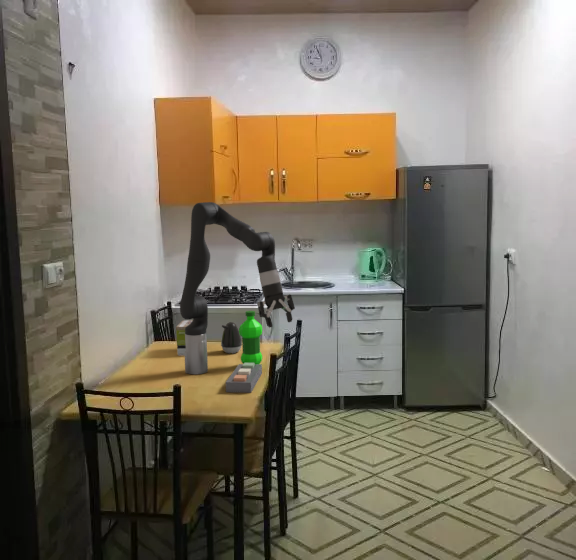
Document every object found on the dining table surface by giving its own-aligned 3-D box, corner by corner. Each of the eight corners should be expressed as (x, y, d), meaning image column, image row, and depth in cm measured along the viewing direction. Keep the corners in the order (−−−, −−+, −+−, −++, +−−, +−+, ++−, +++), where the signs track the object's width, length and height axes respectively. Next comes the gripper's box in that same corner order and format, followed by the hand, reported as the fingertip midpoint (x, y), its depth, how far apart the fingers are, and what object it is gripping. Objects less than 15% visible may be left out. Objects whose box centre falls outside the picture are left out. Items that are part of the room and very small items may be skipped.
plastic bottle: (238, 369, 268) (236, 313, 265) (243, 362, 278) (241, 309, 275) (260, 369, 267) (259, 313, 264) (264, 363, 277) (263, 309, 274)
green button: (242, 372, 255) (242, 365, 255) (244, 369, 260) (244, 362, 259) (252, 372, 255) (252, 365, 254) (254, 369, 259) (254, 362, 259)
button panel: (226, 392, 237) (225, 382, 236) (239, 373, 262) (239, 364, 262) (251, 392, 235) (250, 382, 235) (262, 373, 261) (261, 364, 260)
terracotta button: (233, 385, 238) (233, 378, 237) (236, 382, 242) (235, 374, 242) (244, 386, 237) (244, 378, 237) (246, 382, 242) (246, 374, 241)
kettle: (216, 352, 298) (215, 322, 296) (233, 348, 305) (232, 319, 303) (229, 356, 291) (228, 325, 289) (246, 352, 298) (245, 321, 296)
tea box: (183, 348, 308) (182, 319, 306) (203, 348, 308) (201, 319, 306) (176, 355, 293) (175, 326, 291) (197, 355, 293) (196, 325, 291)
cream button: (238, 379, 247) (238, 371, 246) (240, 375, 251) (240, 368, 251) (249, 379, 246) (248, 371, 246) (250, 376, 250) (250, 368, 250)
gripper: (282, 281, 237) (291, 321, 237) (250, 288, 231) (259, 329, 230) (291, 278, 231) (300, 319, 230) (258, 285, 224) (268, 328, 224)
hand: (280, 324), depth 230 cm, fingers open, 8 cm apart
